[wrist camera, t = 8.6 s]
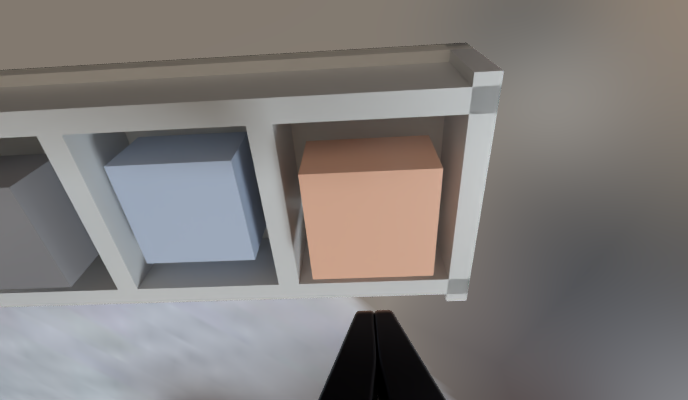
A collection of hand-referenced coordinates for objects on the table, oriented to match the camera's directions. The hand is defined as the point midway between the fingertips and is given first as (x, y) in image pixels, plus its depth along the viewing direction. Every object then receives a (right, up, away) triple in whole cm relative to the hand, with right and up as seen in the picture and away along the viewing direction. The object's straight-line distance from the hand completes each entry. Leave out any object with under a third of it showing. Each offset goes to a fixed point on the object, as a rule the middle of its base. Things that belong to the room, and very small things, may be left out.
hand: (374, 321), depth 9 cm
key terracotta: (0, +3, +5) cm, 6 cm away
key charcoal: (-13, +3, +6) cm, 14 cm away
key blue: (-6, +4, +6) cm, 10 cm away
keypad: (-10, +4, +8) cm, 13 cm away
